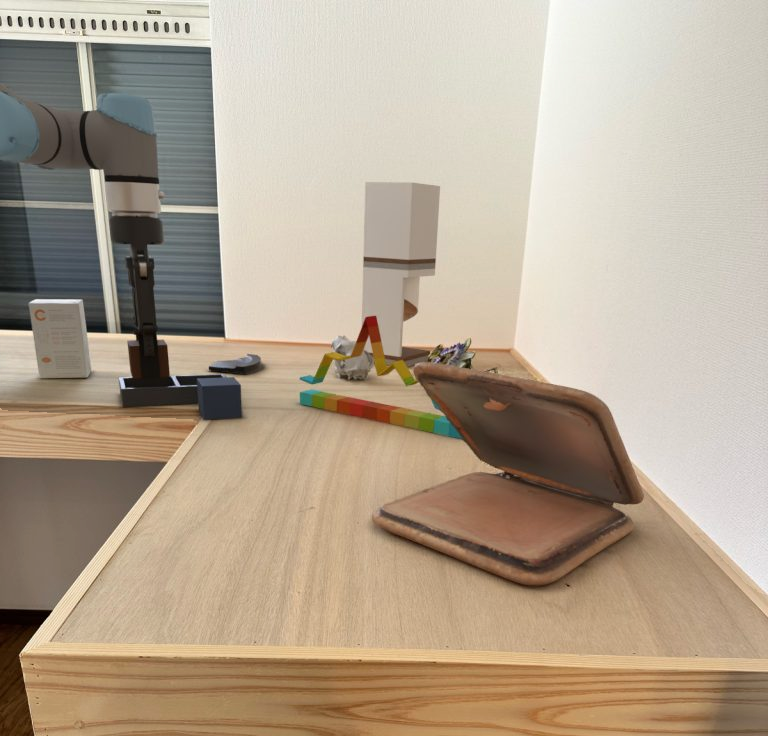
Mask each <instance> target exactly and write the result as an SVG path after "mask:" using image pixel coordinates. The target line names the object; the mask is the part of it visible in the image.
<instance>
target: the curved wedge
mask: <svg viewBox="0 0 768 736" xmlns="http://www.w3.org/2000/svg"><path fill="white" fill-rule="evenodd" d="M261 360H262V358H261V356H260V355H258V354H251V353H246V356H245V357H239V358H236V359H232V360H231V359H228V360H218V361H216V362H214V363H212V364H210V365H208V370H209V371H212V372H222V373H230V374H240V375H249V374H253V373H256V372H257V371H259V370H260V369H261V368H262V364H261V362H262V361H261Z"/></svg>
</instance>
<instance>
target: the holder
mask: <svg viewBox="0 0 768 736" xmlns="http://www.w3.org/2000/svg"><path fill="white" fill-rule="evenodd" d="M225 377H228V376H227V375H226V374H225V373H212V374H211V373H210V374H208V373H207V374H205V373H204V374H179V375H170V377H162V378H139V379H133V378H132V376H126V377H125V376H124V377H123V376H121V377H118V387H119V396H120V400H121V405H122V407H123V408H131V407H151V406H153V407H154V406H173V405H194V404H198V391H197V378H225Z"/></svg>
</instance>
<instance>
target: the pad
mask: <svg viewBox="0 0 768 736" xmlns="http://www.w3.org/2000/svg"><path fill="white" fill-rule="evenodd" d="M197 391H198V403H197V404H198V405H197V407H198V412H199V414H200V416H201V417H202V419H203V420H204V421H209V420H225V419H242V418H243V407H242V406H243V405H242V385H241V383H240V382H239V381H238V380H237V379H236V378H235V376H229V377H228V376H227V377H225V378H197Z"/></svg>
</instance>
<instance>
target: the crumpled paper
mask: <svg viewBox="0 0 768 736" xmlns="http://www.w3.org/2000/svg"><path fill="white" fill-rule="evenodd" d="M356 341H357V340H350V339H349V338H348V337H346V335H343V336H342V335H337V337H334V339H332V341H331V344H330V349H332V350H333V352H337V353H339V354H342V355H345V356H350V355H351V354H352V351H353V349H354V346H355V343H356ZM369 360H370V362H368V361H369ZM374 366H375V363H374V360H373V357H372V356H371V355H370V354H369V353H368V351H366V350H364V349H363V352H362V354H361V356H358V357H354V358H350V359H346V360H341V361H336V360H333V367H334V372H335V374H337V378H339V379H340V378H341V377H342V376H347V380H348V381H349V380H350V379H352V378H353V379H354V380H356V381H357V379H359V380H363V379H364V380H366V379H367V378H368V376H369V373H370V372H371V370H372V369H373V368H374Z"/></svg>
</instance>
